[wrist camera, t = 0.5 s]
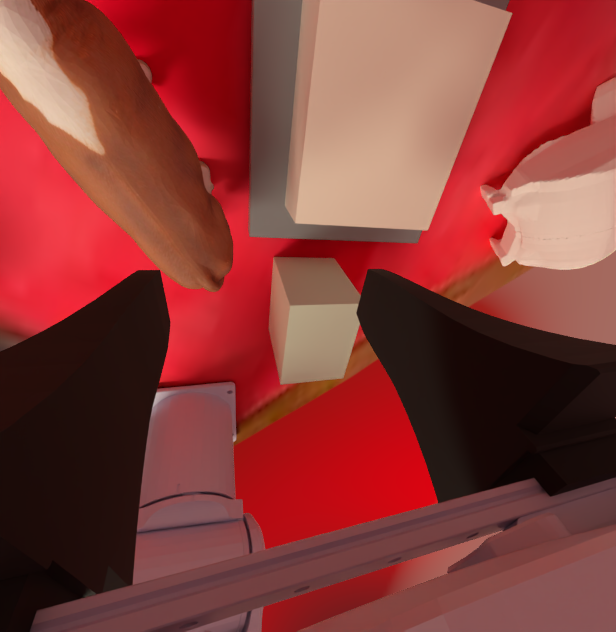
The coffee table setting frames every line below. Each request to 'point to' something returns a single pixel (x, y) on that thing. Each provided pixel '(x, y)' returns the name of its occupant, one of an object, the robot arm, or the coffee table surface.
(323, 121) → the tower base
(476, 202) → the coffee table surface
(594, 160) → the white lumpy shape
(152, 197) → the bull figurine
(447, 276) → the coffee table surface
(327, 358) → the sage brick
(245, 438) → the coffee table surface
